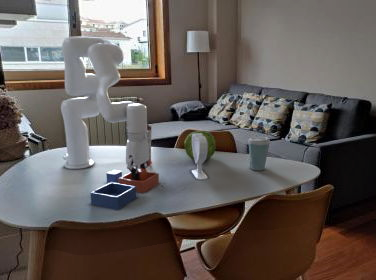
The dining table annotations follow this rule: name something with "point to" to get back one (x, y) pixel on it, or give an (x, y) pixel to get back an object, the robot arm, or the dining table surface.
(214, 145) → the lettuce
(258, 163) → the disposable coffee cup
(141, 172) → the rust block
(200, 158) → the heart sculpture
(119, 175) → the blue block
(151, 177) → the rust bin
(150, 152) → the liquor
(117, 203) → the blue bin
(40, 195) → the dining table surface
